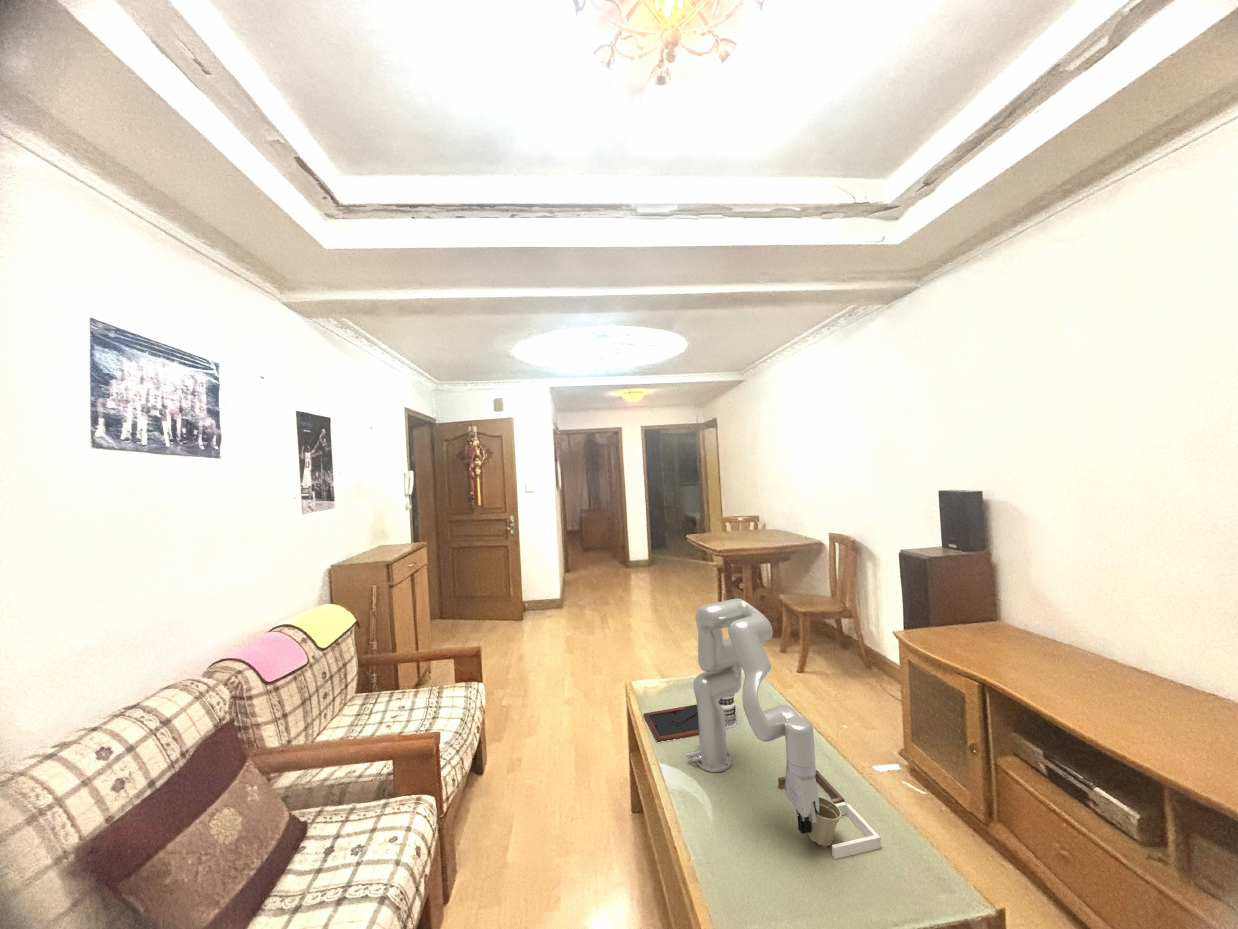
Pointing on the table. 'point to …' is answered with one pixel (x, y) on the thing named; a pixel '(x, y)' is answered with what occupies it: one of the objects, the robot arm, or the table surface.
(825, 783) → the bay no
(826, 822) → the flower pot
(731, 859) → the table surface
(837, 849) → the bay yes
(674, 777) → the table surface
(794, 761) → the robot arm
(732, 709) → the decorative candle
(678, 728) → the picture frame
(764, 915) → the table surface
